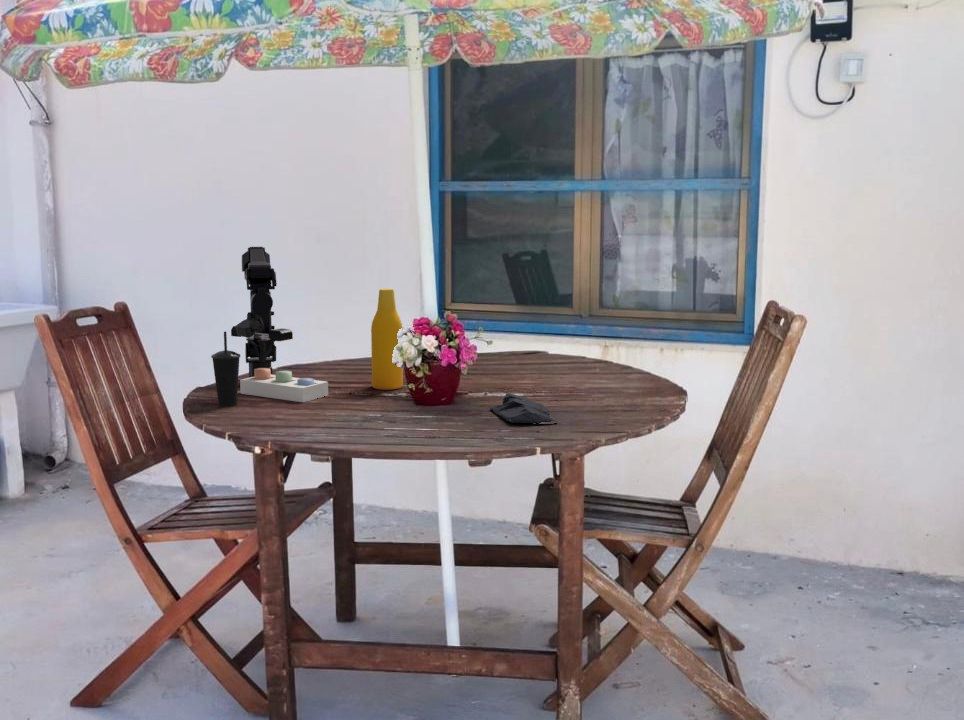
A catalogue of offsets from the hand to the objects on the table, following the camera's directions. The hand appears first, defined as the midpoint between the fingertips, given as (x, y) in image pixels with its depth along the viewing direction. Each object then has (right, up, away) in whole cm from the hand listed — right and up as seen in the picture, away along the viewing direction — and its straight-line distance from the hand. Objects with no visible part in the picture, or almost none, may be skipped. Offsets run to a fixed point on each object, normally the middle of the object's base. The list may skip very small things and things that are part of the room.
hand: (262, 362), depth 307 cm
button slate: (+14, -10, -7) cm, 18 cm away
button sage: (+7, -8, -3) cm, 11 cm away
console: (+7, -9, -3) cm, 12 cm away
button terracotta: (0, -7, +1) cm, 7 cm away
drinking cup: (-6, -12, -17) cm, 21 cm away
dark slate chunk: (+74, -15, -28) cm, 80 cm away
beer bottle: (+35, -7, +9) cm, 37 cm away
